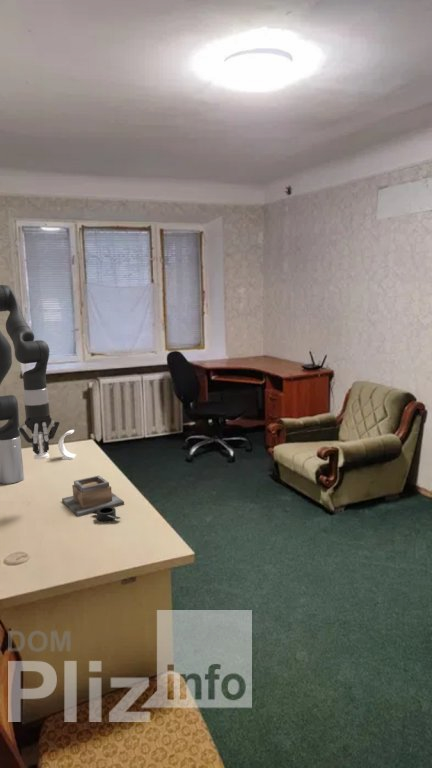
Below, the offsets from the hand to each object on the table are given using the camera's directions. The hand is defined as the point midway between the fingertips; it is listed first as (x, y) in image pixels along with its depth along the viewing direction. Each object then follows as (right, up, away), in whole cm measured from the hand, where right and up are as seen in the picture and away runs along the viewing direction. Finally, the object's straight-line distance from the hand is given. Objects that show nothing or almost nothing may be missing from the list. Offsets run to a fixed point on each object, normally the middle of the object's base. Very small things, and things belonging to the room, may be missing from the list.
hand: (41, 452), depth 178 cm
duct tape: (+24, -20, -8) cm, 32 cm away
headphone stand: (-7, -10, +57) cm, 58 cm away
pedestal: (+16, -18, +5) cm, 24 cm away
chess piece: (0, -2, 0) cm, 2 cm away
